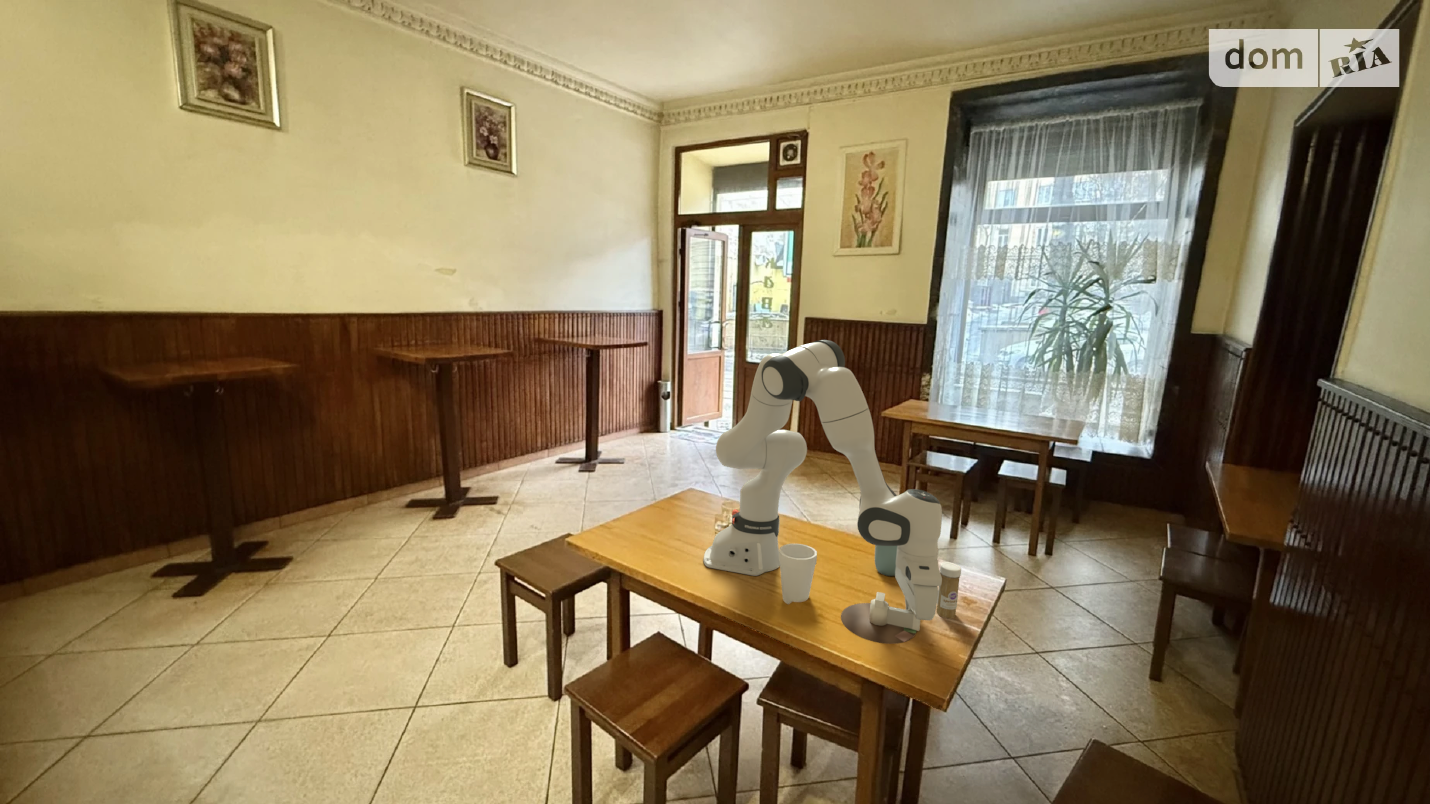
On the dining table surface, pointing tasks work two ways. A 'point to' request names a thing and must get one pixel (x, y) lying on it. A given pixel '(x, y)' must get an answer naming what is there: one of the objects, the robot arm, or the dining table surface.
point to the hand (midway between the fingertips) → (910, 616)
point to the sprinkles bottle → (948, 590)
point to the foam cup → (796, 571)
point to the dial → (873, 626)
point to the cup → (885, 559)
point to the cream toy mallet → (891, 614)
